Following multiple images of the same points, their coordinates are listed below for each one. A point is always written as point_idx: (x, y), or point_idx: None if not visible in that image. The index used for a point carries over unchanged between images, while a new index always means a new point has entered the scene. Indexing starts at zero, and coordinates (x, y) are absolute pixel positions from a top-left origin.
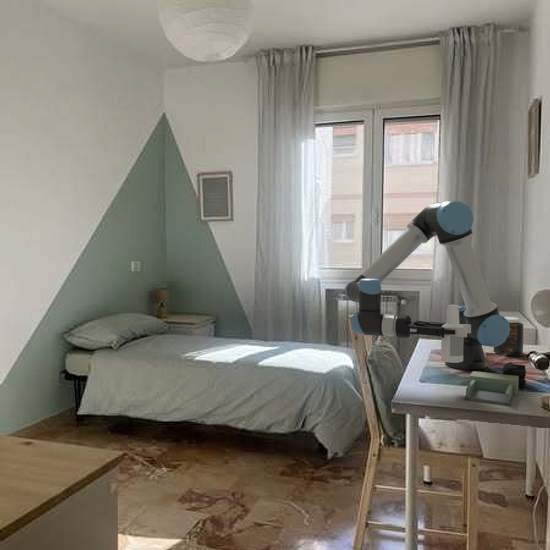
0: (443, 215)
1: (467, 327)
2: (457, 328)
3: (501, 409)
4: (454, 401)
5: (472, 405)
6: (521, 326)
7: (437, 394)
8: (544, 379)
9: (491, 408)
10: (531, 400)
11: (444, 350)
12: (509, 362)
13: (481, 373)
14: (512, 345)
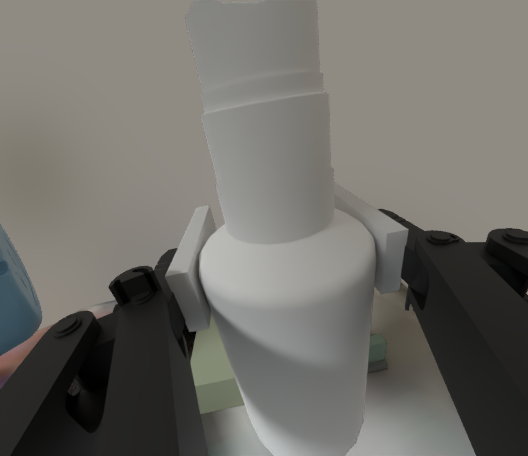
0: None
1: (210, 224)
2: (355, 199)
3: (374, 288)
4: (433, 385)
5: (410, 333)
6: None
7: None
8: (114, 301)
9: (387, 300)
10: None
11: (366, 381)
12: (116, 309)
13: (210, 353)
14: None
